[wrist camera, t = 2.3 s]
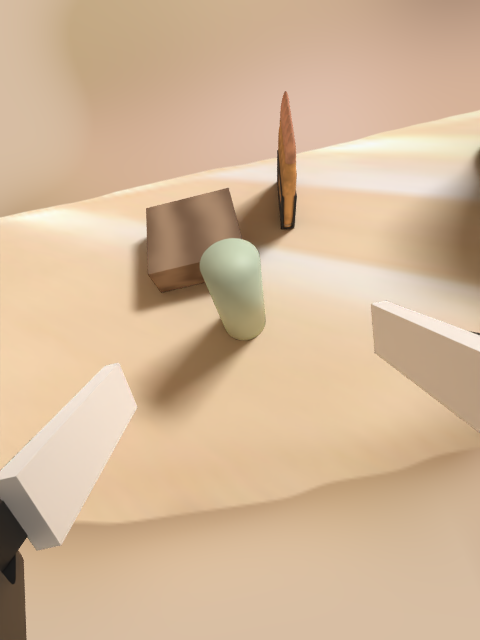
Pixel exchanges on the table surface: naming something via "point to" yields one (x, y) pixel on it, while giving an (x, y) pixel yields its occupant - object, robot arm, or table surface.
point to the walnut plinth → (187, 236)
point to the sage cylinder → (235, 286)
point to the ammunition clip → (286, 167)
